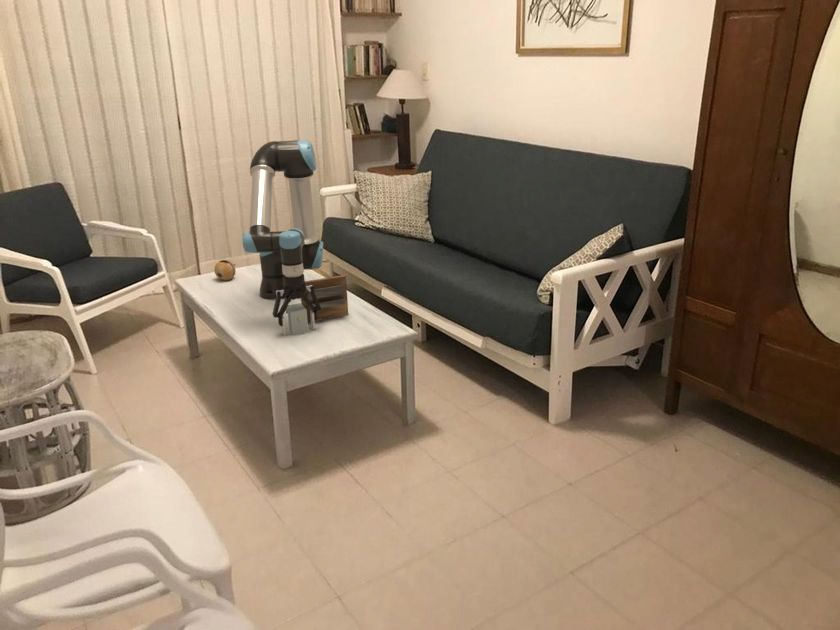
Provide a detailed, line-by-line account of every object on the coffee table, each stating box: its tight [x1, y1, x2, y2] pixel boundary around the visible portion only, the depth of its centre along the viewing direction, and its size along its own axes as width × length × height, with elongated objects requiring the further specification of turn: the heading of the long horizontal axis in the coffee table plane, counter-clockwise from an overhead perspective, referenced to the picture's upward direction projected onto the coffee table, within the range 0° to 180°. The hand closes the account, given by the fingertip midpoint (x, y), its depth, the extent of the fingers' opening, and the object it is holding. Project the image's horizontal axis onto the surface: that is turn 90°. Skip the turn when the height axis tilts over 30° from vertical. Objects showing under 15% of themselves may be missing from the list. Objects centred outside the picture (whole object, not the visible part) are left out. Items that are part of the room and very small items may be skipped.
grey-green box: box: [285, 302, 310, 336], centre depth 255 cm, size 9×6×9 cm
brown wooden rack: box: [300, 274, 349, 323], centre depth 265 cm, size 8×18×16 cm, turn 115°
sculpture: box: [214, 259, 237, 282], centre depth 314 cm, size 9×9×15 cm
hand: (298, 330), depth 256 cm, fingers open, 10 cm apart
